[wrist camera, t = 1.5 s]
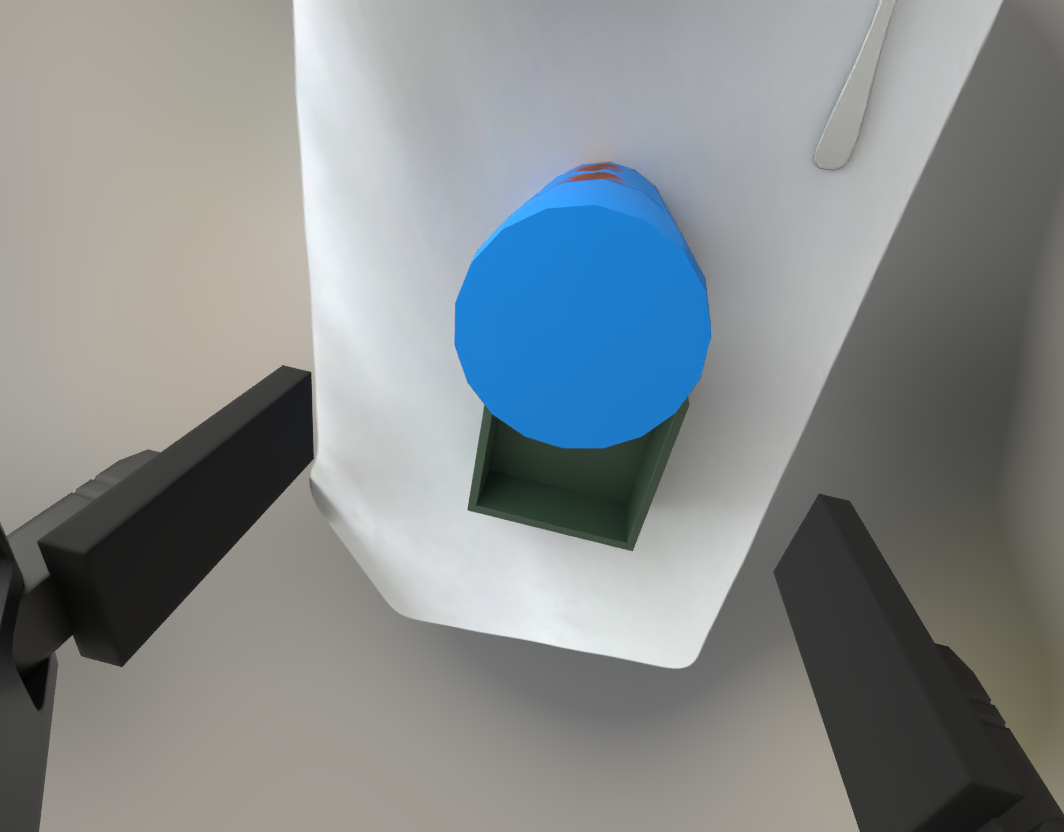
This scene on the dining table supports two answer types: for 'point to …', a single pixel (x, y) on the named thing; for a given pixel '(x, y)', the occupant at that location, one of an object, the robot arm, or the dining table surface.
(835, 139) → the fork
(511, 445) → the box
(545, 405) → the thermos
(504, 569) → the dining table surface
